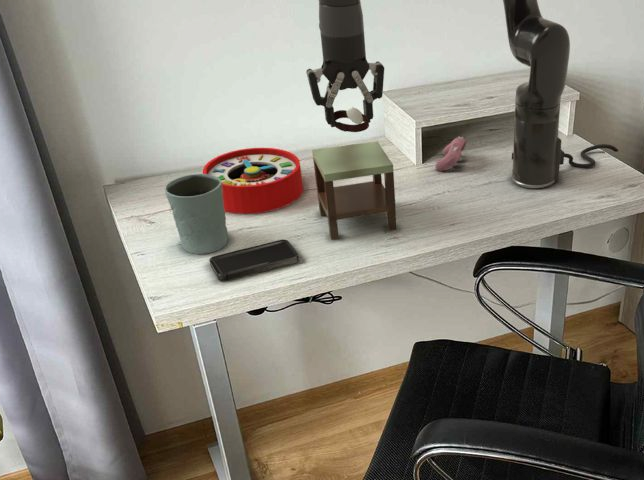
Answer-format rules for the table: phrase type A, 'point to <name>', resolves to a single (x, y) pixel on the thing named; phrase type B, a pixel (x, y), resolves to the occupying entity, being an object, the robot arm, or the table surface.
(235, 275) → the phone
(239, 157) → the toy clock
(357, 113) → the watch
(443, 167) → the video game controller
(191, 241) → the grey-green cup
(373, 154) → the small side table
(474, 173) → the table surface
